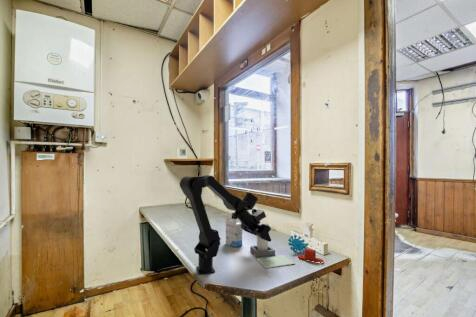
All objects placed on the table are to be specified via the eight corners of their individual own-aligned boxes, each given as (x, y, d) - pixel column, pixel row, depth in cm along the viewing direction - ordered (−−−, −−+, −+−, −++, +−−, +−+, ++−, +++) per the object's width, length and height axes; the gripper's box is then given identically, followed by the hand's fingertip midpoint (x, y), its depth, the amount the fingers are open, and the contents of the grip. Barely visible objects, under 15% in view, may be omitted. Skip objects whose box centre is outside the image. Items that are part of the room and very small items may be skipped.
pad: (295, 264, 101) (295, 263, 101) (265, 268, 97) (265, 267, 97) (283, 256, 111) (283, 255, 111) (256, 259, 106) (256, 258, 106)
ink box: (242, 245, 126) (242, 217, 126) (236, 247, 122) (236, 218, 123) (231, 241, 132) (231, 215, 132) (225, 243, 128) (225, 216, 129)
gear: (291, 252, 111) (287, 233, 118) (286, 258, 115) (282, 239, 122) (312, 254, 114) (306, 235, 121) (306, 259, 117) (301, 240, 125)
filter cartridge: (270, 254, 112) (270, 225, 113) (259, 256, 110) (259, 226, 111) (265, 250, 117) (265, 222, 118) (254, 252, 116) (255, 223, 116)
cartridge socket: (275, 255, 111) (275, 250, 111) (257, 257, 108) (257, 252, 108) (266, 249, 120) (266, 244, 120) (250, 251, 117) (250, 246, 117)
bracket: (296, 259, 108) (296, 248, 108) (299, 256, 111) (299, 245, 111) (322, 265, 102) (322, 253, 102) (324, 262, 105) (324, 250, 105)
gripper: (267, 207, 105) (286, 229, 110) (245, 202, 121) (263, 221, 126) (252, 227, 101) (273, 249, 106) (232, 219, 117) (250, 238, 122)
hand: (264, 238), depth 115 cm, fingers open, 9 cm apart
